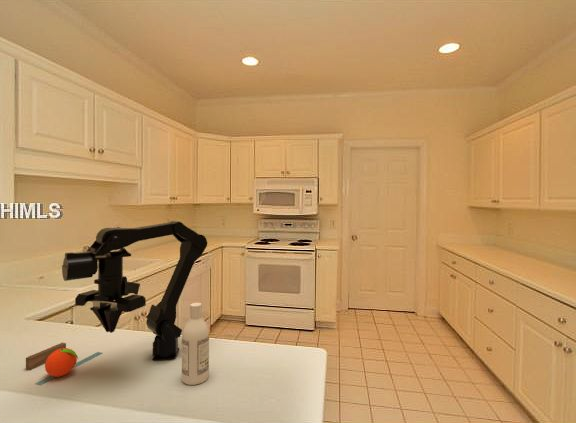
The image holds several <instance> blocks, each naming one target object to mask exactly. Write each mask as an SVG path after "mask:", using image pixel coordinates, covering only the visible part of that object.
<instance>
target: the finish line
mask: <svg viewBox="0 0 576 423" xmlns="http://www.w3.org/2000/svg"><path fill="white" fill-rule="evenodd" d="M102 354H103V352H100V351H97V352H95V353H93V354H91V355H89V356H87V357H85V358H83V359H81V360H79V361H76V364H75V366H74V368H73V369H75V368H77V367H78V366H81V365H83V364H85V363H87V362H88V361H91V360H93V359H94V358H96V357H98V356H101V355H102ZM56 378H57V377H55V376H51V375H48V376H47V377H45V378H43V379H42V380H39V381H37V382H35V383H34V385H37V386H42V385H44V384H46V383H48V382H50V381H51V380H54V379H56Z"/></svg>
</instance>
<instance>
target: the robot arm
mask: <svg viewBox="0 0 576 423" xmlns="http://www.w3.org/2000/svg"><path fill="white" fill-rule="evenodd" d="M168 236H173V237H174V238H175V239H176V240H177V241H178V242H179V243H180V246H179V259H178V261H177V263H176V266H175V267H174V270H173V273H172V275H171V276H170V280H169V282H168V285H167V286H166V288H165V292H164V293H163V296H162V298H161V300H160V301H159V303H157V304H156V305H154V304H151V305H150V309H149V312H148V314H147V315H146V316H145V318H146V322H145V323H146V326H147V328H148V329H149V330H150V331H152V334H154V335H155V336H154V340H153V341H152V356H153V357H152V361H167V360H175V359H177V358H176V357H177V356H178V353H179V352H180V347H179V338H180V337H182V333H183V329H182V328H180V327H179V326H178V325H176V319H177V305H178V303H179V300H180V298H181V295H182V293H183V291H184V288H185V285H186V284H187V281H188V278H189V276H190V274H191V271H192V269H193V266H194V264H195V262H197V260H198V259H199V258H201V256H202V255H203V254H204V252H205V249H206V248H207V247H208V240H207V238H206V236H204V234H203V235H202V234H200V233H198V232H196V231H194V230H193V229H192V228H189V227H188V226H187V225H185V224H184V223H183V222H182V221H175V220H172V221H171V220H170V221H169V222H164V223H158V224H157V223H156V224H152V225H151V224H150V225H143V226H139V227H129V228H128V227H105V228H102V229H100V230H99V231H98V232H97V234H96V236H95V240H94V242H93V243H92V244H91V245H90V246H89V248H87V250H86V251H83V252H65V253H64V258H63V262H62V265H61V274H62V278H63V279H62V280H64V281H65V282H67V281H74V280H81V279H89V278H93V276H94V275H96V274H97V277H98V278H97V279H94V280H93V283H94V285H97V286H98V288H97V290H96V289H91V290H89V291H84V292H81V293H78V294H77V295H76V297H75V299H74V300H75V302H74V303H75V304H74V305H75V306H78V307H79V306H81V307H83V306H86V304H87V303H88V302H92V306H91V307H90V308H89V310H90V311H92V312H93V313H94V315H95V316H96V318H97V319H98V321H99V322H100V323H101V326H102V327H103V329H104V330H105V332H106V333H110V334H111V333H114V332H115V331H116V328H117V326H118V323H119V320H120V317H121V315H122V313H130V312H134V311H135V310H138V309H141V308H143V307H145V306H146V305H147V301H146V297H145V296H144V295H140V294H139V290H140V286H141V283H138V282H132V281H131V282H130V281H128V278H127V276H124V273H123V271H124V270H123V269H124V268H123V267H124V266H123V265H124V262H123V261H124V258H129V257H131V256H132V253H130V252H128V251H127V250H126V247H129V246H130V245H133V244H135V243H138V242H140V241H147V240H151V239H156V238H162V237H168ZM123 296H125V297H123Z"/></svg>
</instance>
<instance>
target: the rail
mask: <svg viewBox="0 0 576 423" xmlns="http://www.w3.org/2000/svg"><path fill="white" fill-rule="evenodd" d="M61 348H67V342H61V343H57V344H56V345H53V346H51V347H49V348H46V349H43V350H41V351H38V352H36V353H34V354H32V355H30V356H27V357H25V371H32V370H34V369H37V368H38V367H41V366H43V365H45V363H46V360H47V358H48V357H49V356H50V355H51V354H52V353H53V352H54V351H56V350H58V349H61Z"/></svg>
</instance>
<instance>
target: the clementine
mask: <svg viewBox="0 0 576 423" xmlns="http://www.w3.org/2000/svg"><path fill="white" fill-rule="evenodd" d="M78 359H79V358H78V354H77V353H76V352H75V351H74V350H73V349H71V348H68V347H66V348H61V349H58V350H56V351H54V352H53V353H52V354H51V355H50V356H49V357H48V358H47V360H46V363H45V364H44V368H45V369H44V370H45V371H46V373H47V374H48V376H55V377H56V378H59V377H62V376H65V375H67V374H69V373H71V372H72V370H73V369H75V368H74V366H75V364H76V363H77V362H78V361H77V360H78Z"/></svg>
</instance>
